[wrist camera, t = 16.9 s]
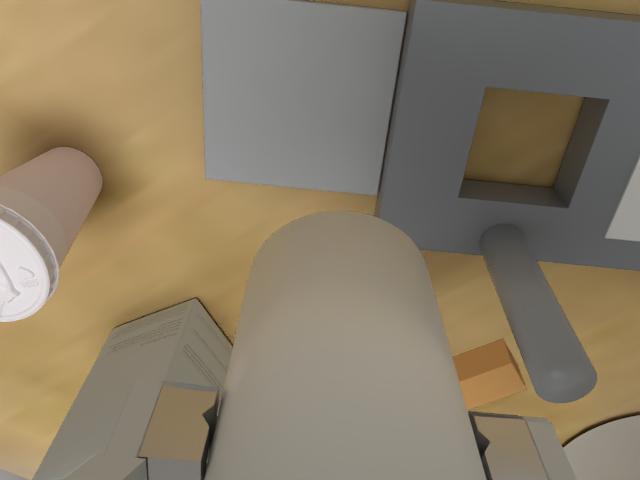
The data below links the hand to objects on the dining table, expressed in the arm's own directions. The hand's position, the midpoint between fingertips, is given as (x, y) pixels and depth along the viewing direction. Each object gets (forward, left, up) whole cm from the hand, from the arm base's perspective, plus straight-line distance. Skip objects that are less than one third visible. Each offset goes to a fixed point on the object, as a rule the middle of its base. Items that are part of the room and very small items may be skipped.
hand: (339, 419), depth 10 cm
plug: (0, 0, -4) cm, 4 cm away
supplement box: (-2, +22, -22) cm, 31 cm away
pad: (+2, +2, -22) cm, 22 cm away
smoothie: (+10, +14, -22) cm, 28 cm away
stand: (-12, -6, -22) cm, 26 cm away
